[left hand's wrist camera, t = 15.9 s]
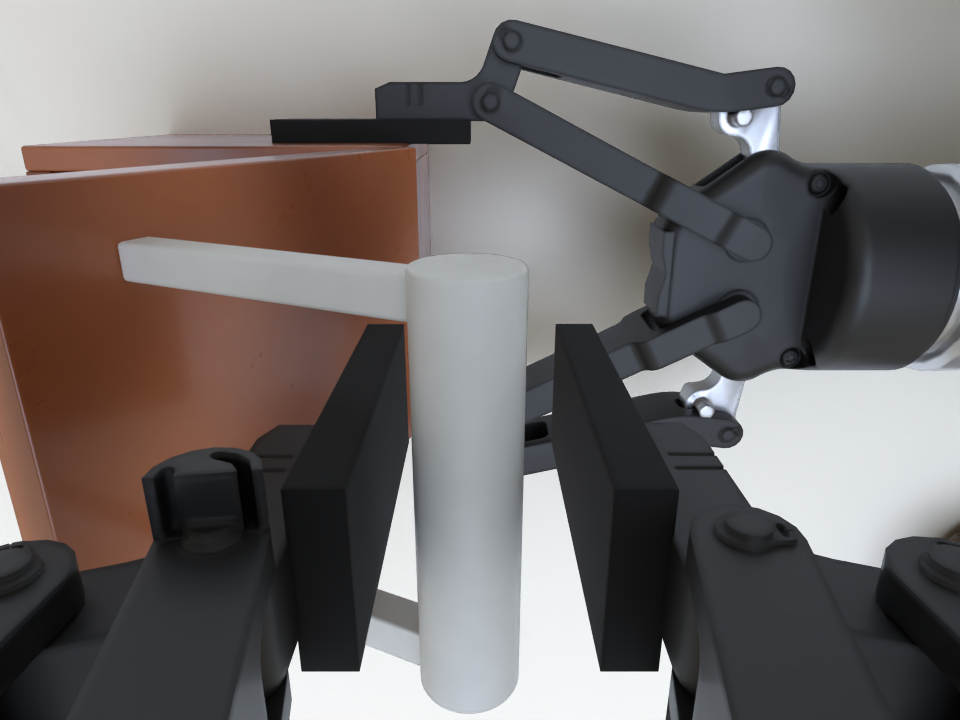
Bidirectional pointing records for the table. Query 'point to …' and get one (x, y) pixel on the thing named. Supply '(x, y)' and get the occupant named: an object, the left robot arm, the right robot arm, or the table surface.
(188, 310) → the lid
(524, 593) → the table surface
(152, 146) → the chest
